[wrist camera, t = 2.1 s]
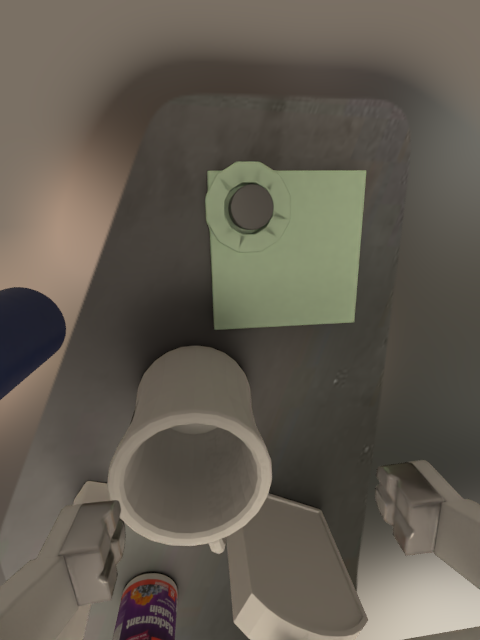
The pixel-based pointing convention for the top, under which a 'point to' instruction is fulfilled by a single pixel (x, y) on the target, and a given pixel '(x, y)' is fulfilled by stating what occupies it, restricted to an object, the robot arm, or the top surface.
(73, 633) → the perfume bottle
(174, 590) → the pill bottle
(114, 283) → the top surface
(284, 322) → the green block with ring
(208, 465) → the mug
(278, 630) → the gravestone
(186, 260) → the top surface
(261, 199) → the button
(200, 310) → the top surface
